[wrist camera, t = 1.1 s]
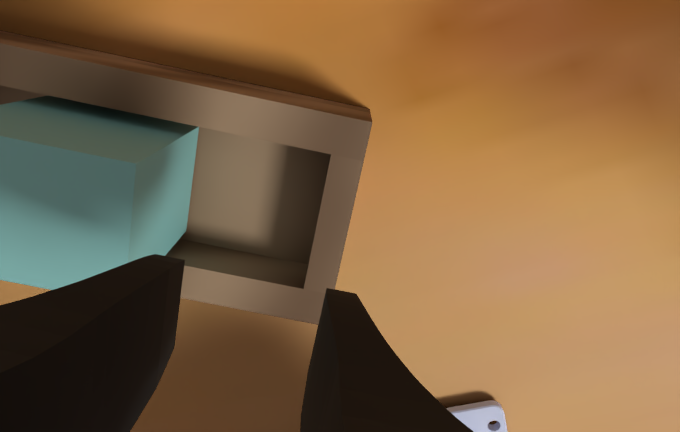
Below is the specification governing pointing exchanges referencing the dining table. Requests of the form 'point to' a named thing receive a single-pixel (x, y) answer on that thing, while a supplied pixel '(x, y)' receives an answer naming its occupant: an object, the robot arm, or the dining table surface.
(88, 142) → the teal block
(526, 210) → the dining table surface
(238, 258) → the wooden tray
